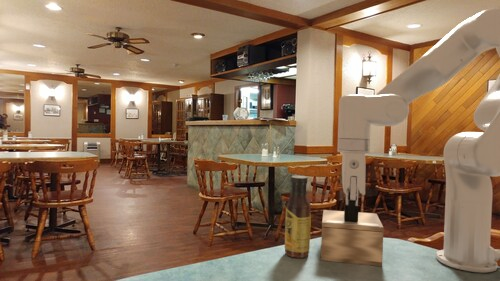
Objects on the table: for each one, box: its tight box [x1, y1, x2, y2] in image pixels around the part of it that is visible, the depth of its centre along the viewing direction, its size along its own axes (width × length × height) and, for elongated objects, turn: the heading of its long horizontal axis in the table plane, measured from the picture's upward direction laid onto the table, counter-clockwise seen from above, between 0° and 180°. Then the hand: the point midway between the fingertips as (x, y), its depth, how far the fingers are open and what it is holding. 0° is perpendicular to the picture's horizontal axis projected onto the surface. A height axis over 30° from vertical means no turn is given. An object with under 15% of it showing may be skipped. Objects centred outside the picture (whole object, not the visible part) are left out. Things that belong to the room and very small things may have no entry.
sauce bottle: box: [284, 175, 312, 259], centre depth 89 cm, size 6×6×20 cm
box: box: [320, 226, 384, 267], centre depth 91 cm, size 14×14×8 cm
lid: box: [321, 209, 384, 233], centre depth 90 cm, size 14×14×1 cm
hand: (350, 220), depth 86 cm, fingers closed
